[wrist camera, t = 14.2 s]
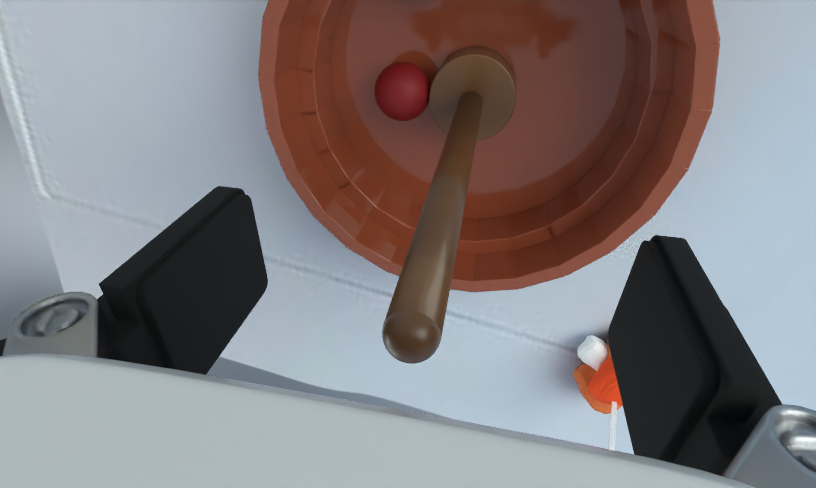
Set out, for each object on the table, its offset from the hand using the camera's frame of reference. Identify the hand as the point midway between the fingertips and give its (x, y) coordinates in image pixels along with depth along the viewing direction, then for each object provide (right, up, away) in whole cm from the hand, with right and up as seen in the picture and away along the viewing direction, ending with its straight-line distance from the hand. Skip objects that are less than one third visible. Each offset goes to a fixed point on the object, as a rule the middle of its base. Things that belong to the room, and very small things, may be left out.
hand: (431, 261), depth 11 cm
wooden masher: (+3, +9, +13) cm, 16 cm away
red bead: (-1, +9, +13) cm, 15 cm away
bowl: (+3, +9, +14) cm, 17 cm away
